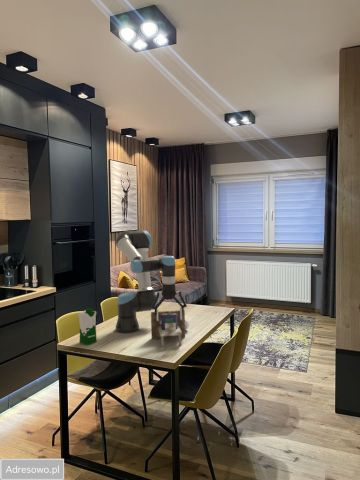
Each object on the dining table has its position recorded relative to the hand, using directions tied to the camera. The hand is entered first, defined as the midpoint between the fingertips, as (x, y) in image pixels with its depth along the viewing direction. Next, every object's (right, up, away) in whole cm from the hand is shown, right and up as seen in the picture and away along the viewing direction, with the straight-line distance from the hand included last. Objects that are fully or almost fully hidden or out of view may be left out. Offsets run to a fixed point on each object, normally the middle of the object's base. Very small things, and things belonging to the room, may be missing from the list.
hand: (169, 319), depth 211 cm
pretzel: (+6, -12, +22) cm, 25 cm away
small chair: (0, -13, +1) cm, 13 cm away
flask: (0, -6, 0) cm, 6 cm away
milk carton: (-48, -14, +3) cm, 50 cm away
